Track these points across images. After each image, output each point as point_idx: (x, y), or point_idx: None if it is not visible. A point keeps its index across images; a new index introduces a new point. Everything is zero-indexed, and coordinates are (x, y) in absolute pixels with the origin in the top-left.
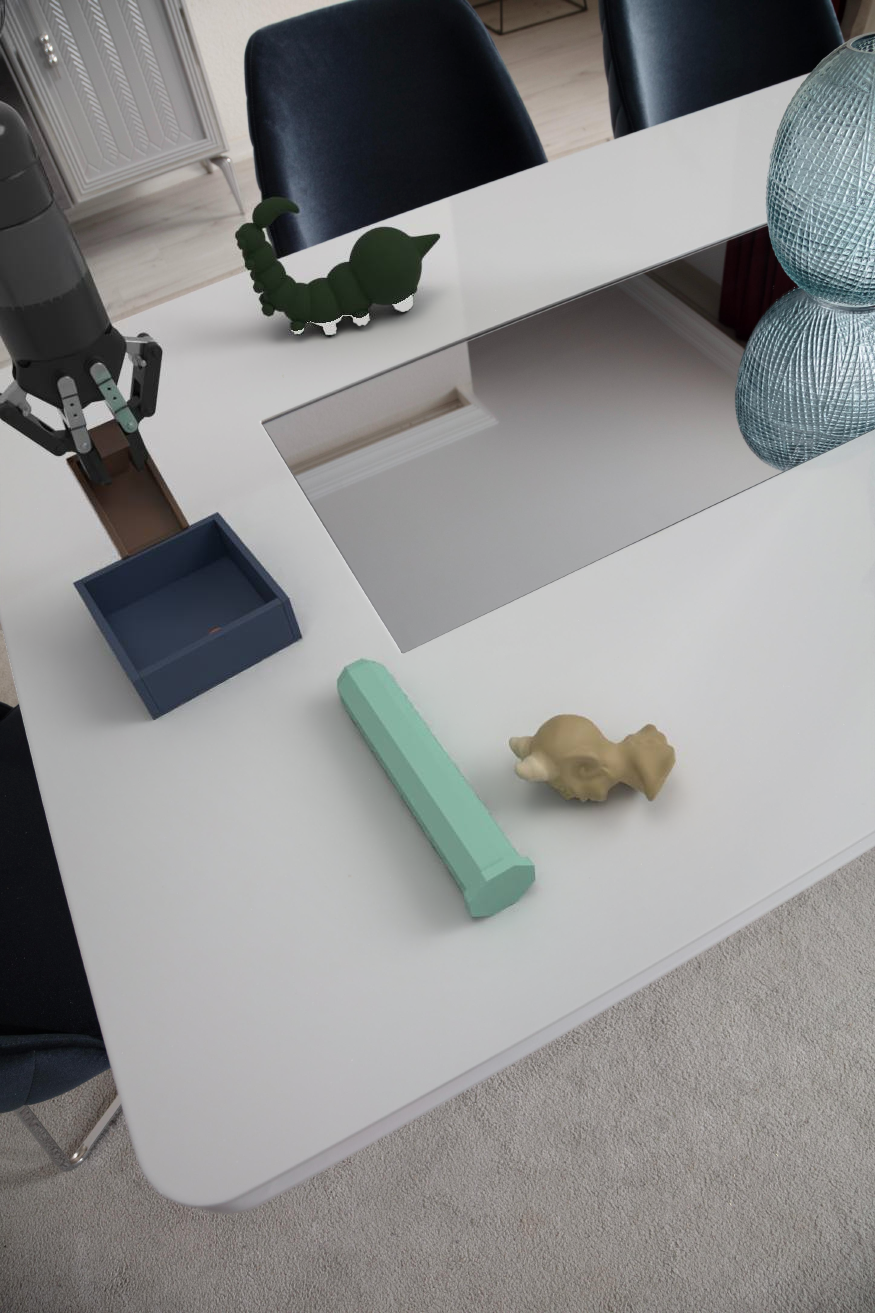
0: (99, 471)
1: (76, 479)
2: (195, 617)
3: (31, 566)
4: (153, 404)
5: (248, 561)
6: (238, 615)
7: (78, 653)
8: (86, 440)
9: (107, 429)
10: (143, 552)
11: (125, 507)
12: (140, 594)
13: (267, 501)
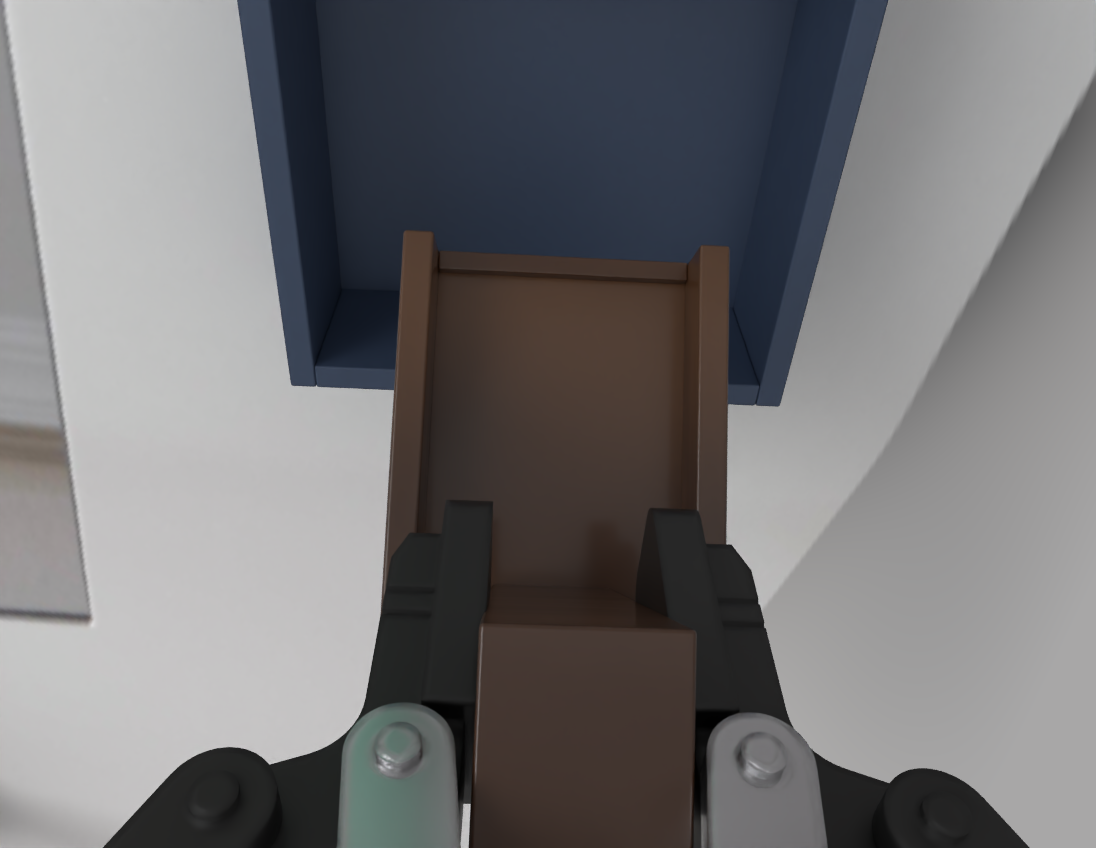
0: (704, 582)
1: None
2: (532, 127)
3: (752, 557)
4: (150, 825)
5: (284, 112)
6: (418, 35)
7: (844, 247)
8: (735, 792)
9: (559, 798)
10: None
11: (592, 448)
12: None
13: (165, 397)
